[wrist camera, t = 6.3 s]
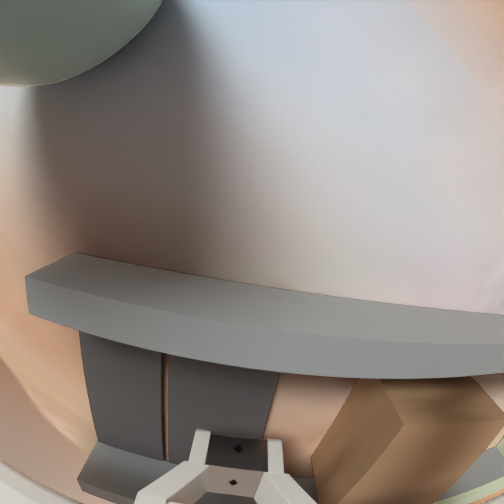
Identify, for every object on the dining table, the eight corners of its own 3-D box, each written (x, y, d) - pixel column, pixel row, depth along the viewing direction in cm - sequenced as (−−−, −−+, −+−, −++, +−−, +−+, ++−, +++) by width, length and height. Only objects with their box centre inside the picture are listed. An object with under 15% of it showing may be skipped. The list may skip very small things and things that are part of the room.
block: (465, 370, 11) (508, 418, 7) (406, 455, 12) (429, 506, 8) (366, 356, 11) (403, 424, 7) (310, 453, 12) (320, 519, 8)
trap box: (570, 319, 10) (603, 340, 7) (496, 454, 13) (515, 482, 9) (75, 252, 10) (14, 281, 6) (101, 453, 12) (78, 497, 9)
